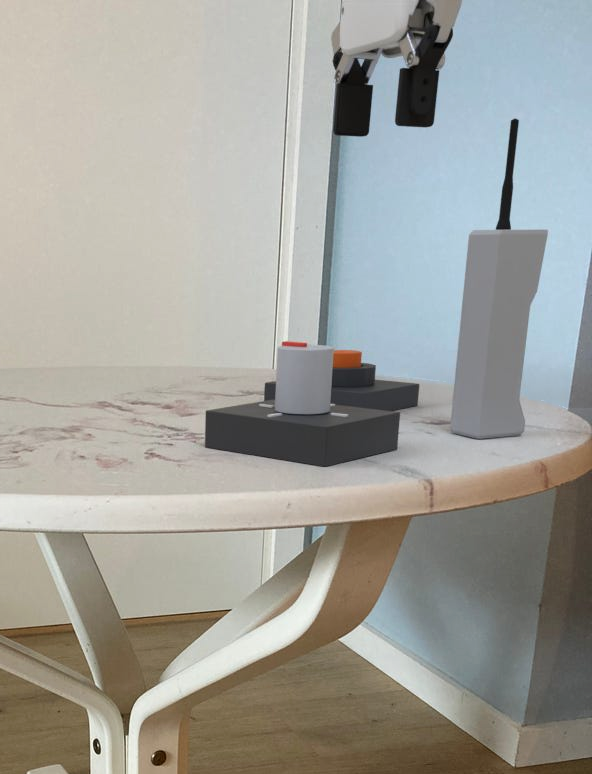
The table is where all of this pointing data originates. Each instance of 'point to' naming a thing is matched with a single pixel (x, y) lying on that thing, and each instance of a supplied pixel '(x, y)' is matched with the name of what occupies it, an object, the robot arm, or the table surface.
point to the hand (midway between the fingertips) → (380, 131)
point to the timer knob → (303, 378)
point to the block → (364, 390)
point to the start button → (347, 358)
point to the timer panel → (302, 432)
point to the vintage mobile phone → (496, 321)
